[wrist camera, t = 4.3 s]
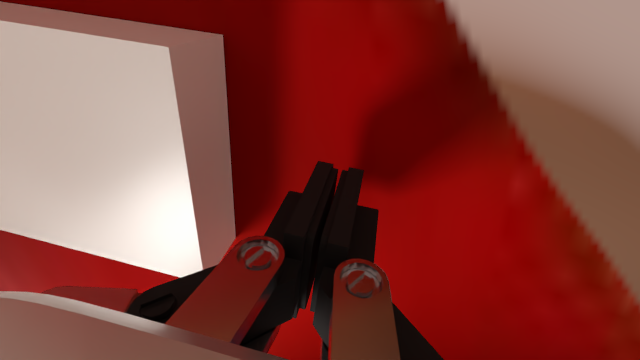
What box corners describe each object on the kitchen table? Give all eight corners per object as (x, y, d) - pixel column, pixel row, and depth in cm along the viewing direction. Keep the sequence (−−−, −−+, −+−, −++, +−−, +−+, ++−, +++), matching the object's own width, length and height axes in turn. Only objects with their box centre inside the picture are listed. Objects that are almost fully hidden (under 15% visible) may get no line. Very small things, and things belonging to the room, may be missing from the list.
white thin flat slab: (-21, 176, 18) (-90, 206, 15) (-137, -20, 13) (-269, -23, 10) (235, 237, 16) (204, 283, 13) (223, 34, 11) (168, 46, 8)
